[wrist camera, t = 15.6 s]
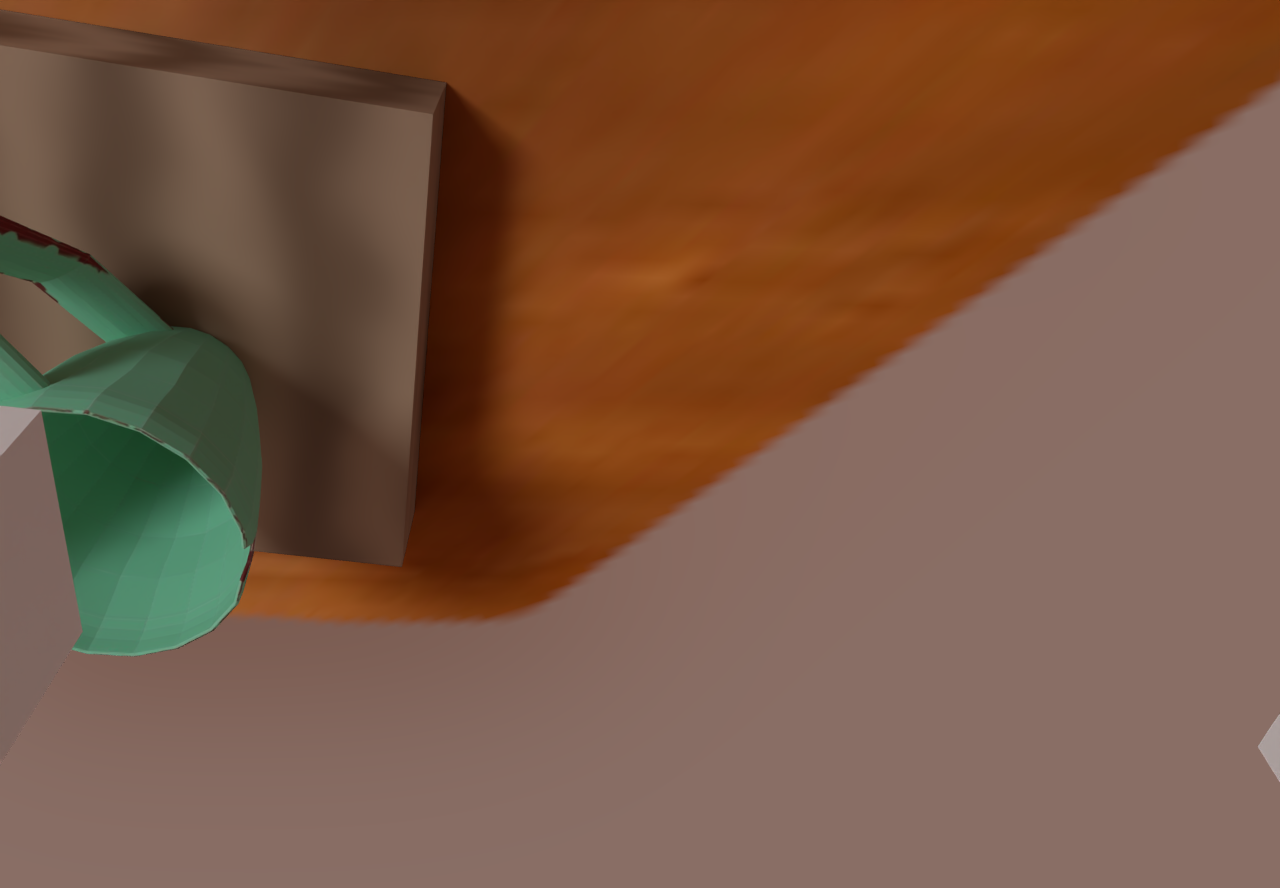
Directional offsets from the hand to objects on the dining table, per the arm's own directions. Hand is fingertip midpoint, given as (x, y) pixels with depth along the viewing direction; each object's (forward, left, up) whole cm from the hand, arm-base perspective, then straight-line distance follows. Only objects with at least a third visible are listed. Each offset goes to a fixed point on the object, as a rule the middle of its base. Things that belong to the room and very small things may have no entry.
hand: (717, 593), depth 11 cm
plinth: (+16, +15, -33) cm, 39 cm away
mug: (+16, +14, -29) cm, 36 cm away
